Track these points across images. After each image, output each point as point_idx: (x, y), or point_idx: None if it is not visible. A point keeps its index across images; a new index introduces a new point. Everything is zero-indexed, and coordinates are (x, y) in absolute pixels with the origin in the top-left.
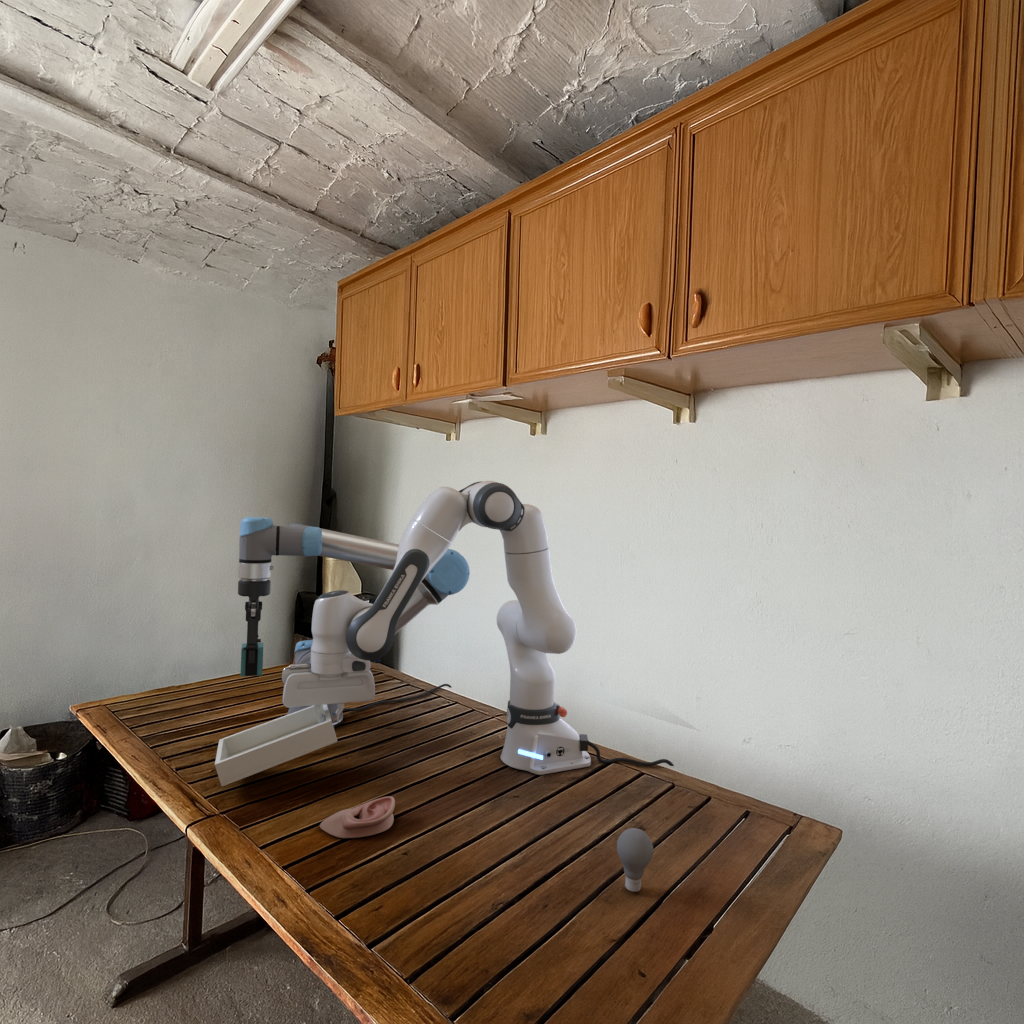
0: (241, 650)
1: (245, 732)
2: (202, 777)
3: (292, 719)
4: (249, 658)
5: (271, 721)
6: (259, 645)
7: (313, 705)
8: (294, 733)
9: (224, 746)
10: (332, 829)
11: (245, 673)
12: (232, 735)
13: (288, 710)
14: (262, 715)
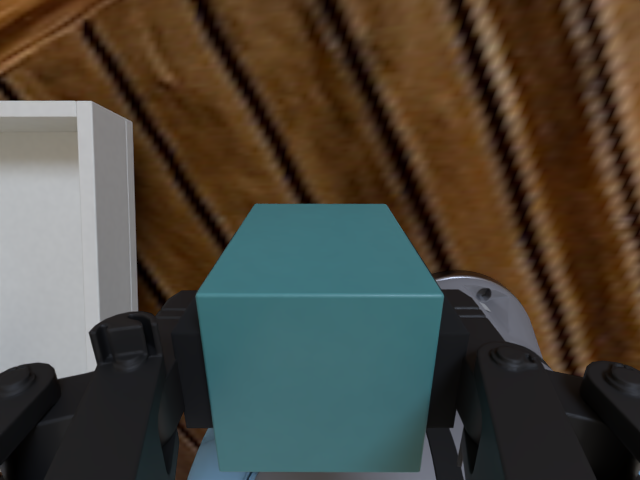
0: (203, 282)
1: (80, 192)
2: (121, 59)
3: None
4: (161, 318)
5: (88, 283)
6: (303, 446)
7: None
8: None
9: (61, 121)
10: None
11: (231, 239)
12: (84, 147)
13: (472, 295)
14: (570, 209)
